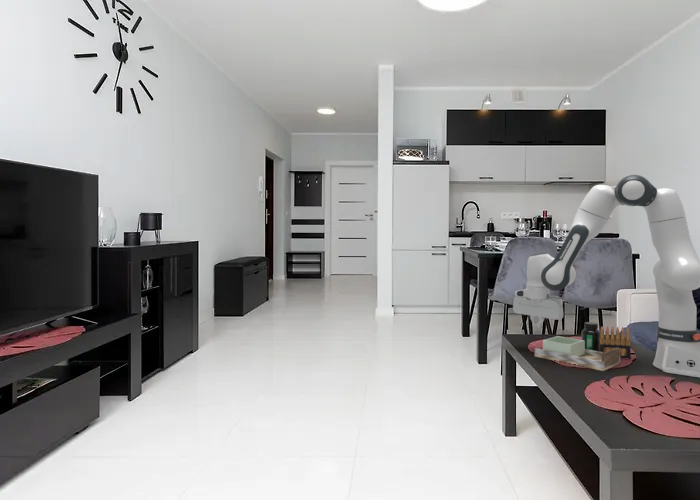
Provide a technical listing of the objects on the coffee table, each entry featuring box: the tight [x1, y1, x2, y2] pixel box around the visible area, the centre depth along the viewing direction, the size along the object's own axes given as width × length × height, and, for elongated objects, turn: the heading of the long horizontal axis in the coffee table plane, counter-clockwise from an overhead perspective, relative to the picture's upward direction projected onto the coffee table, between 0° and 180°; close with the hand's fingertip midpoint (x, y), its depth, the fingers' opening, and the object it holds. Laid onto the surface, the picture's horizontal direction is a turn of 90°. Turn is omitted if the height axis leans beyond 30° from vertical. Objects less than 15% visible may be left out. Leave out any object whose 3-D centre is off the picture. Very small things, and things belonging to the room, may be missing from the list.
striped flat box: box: [534, 347, 622, 372], centre depth 182 cm, size 26×14×6 cm, turn 38°
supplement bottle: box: [581, 321, 600, 351], centre depth 192 cm, size 7×7×12 cm
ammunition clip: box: [599, 325, 632, 360], centre depth 185 cm, size 11×2×12 cm, turn 70°
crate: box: [542, 335, 585, 357], centre depth 186 cm, size 11×11×5 cm
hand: (537, 327), depth 194 cm, fingers closed
